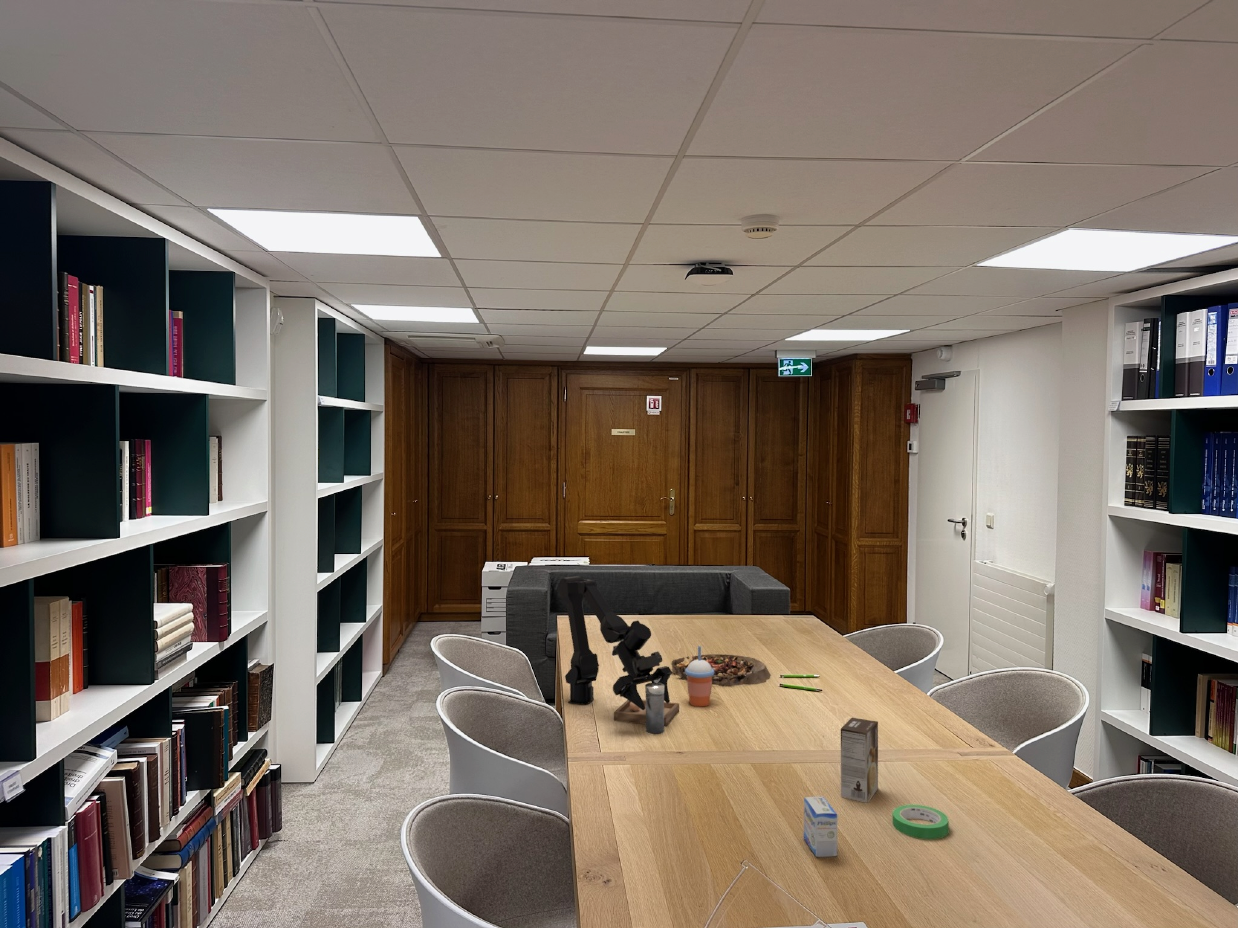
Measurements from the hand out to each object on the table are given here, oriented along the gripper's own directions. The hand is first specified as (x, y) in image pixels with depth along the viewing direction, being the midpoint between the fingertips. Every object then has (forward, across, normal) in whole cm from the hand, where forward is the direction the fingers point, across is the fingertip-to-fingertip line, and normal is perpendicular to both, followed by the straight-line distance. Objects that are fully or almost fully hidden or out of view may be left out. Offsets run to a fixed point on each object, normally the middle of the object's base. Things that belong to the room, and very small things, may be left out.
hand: (656, 705), depth 228 cm
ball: (-8, +5, +14) cm, 17 cm away
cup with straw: (-2, +27, +12) cm, 30 cm away
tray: (-3, +7, +14) cm, 15 cm away
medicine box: (+55, -19, -44) cm, 73 cm away
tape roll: (+61, +4, -49) cm, 79 cm away
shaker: (+5, 0, +6) cm, 7 cm away
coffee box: (+48, +9, -37) cm, 62 cm away
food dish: (-15, +57, +26) cm, 64 cm away
